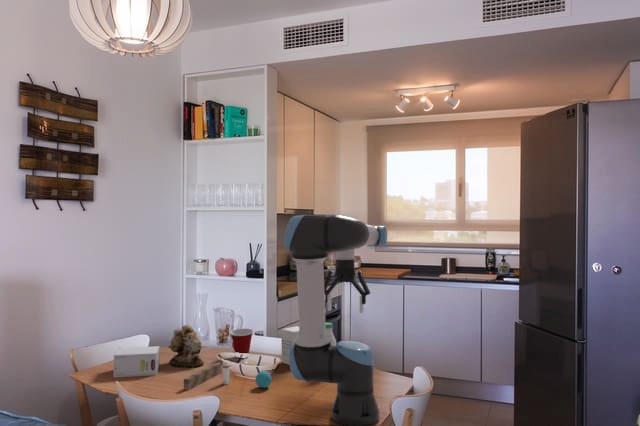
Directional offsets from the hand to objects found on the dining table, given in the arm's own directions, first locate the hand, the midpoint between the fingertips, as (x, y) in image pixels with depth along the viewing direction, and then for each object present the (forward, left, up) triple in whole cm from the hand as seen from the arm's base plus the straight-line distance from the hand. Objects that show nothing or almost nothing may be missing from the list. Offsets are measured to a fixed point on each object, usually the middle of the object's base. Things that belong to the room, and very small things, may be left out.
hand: (345, 311), depth 220 cm
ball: (-25, +24, -23) cm, 42 cm away
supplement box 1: (-23, +83, -26) cm, 90 cm away
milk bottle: (+2, +8, -26) cm, 27 cm away
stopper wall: (-25, +50, -26) cm, 62 cm away
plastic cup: (+12, +53, -26) cm, 60 cm away
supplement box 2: (+11, +26, -26) cm, 38 cm away
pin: (-25, +40, -26) cm, 54 cm away
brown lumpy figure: (-6, +71, -26) cm, 76 cm away
